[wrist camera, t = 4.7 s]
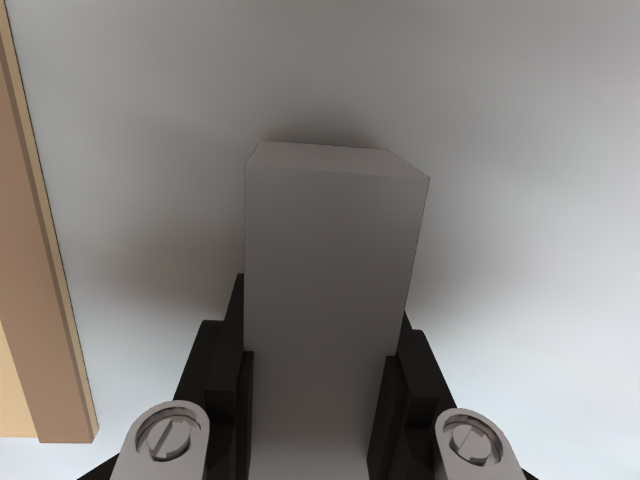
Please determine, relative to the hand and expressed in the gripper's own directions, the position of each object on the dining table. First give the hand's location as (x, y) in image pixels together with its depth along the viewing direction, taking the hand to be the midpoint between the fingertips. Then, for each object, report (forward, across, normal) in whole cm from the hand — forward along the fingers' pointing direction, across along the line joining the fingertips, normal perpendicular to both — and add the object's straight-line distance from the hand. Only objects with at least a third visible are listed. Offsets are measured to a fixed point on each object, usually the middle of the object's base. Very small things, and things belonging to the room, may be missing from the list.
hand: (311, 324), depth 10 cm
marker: (0, 0, 0) cm, 0 cm away
